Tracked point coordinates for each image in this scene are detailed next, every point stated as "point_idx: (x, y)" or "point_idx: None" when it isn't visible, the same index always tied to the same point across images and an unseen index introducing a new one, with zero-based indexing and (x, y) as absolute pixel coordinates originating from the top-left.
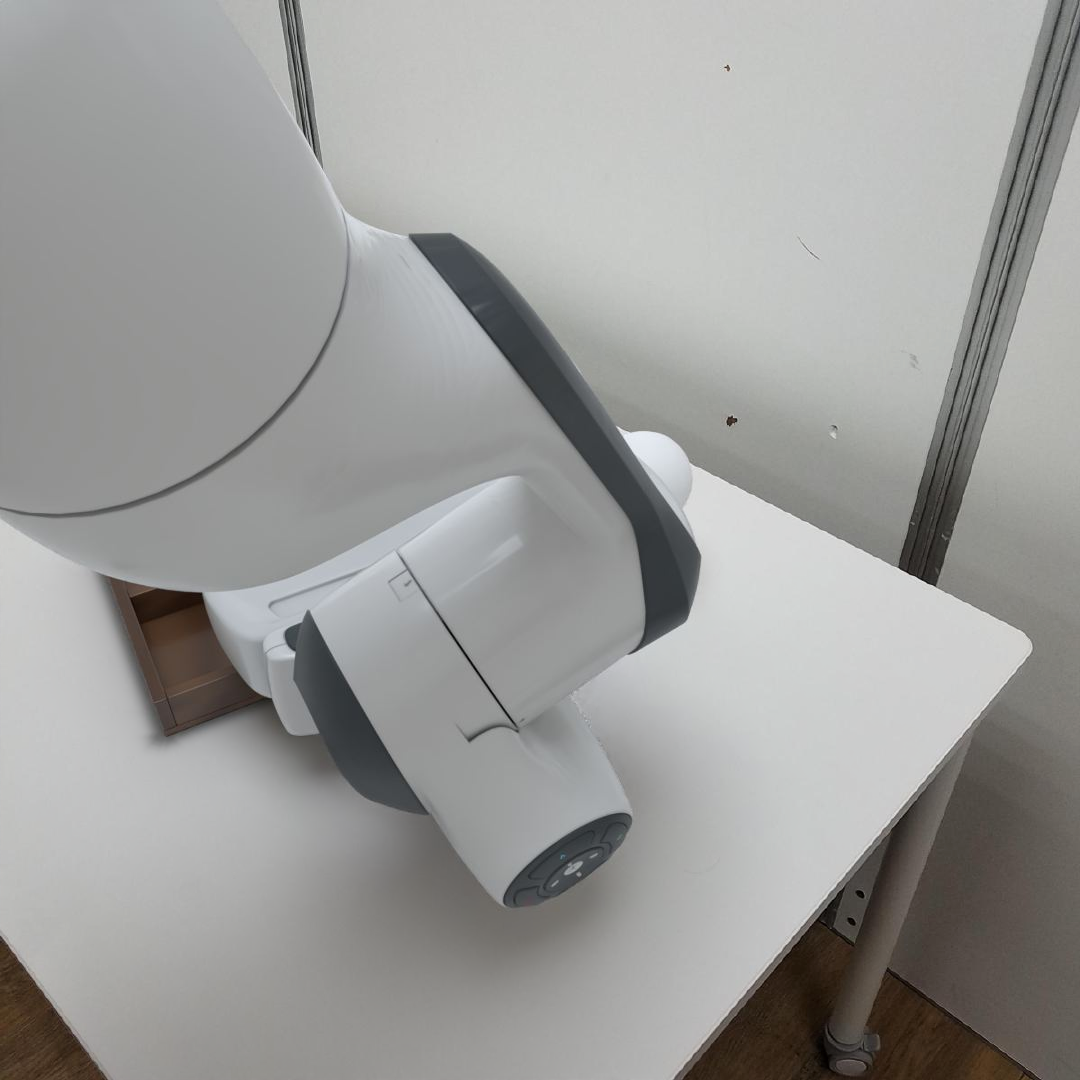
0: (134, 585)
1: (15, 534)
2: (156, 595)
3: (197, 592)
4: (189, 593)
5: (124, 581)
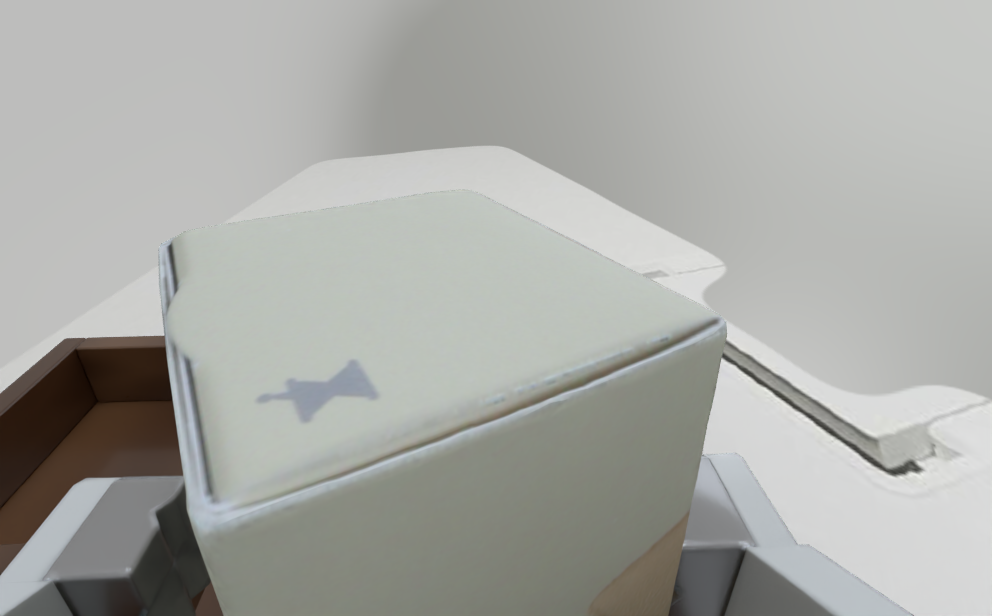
0: (11, 519)
1: (27, 356)
2: None
3: None
4: None
5: (11, 501)
